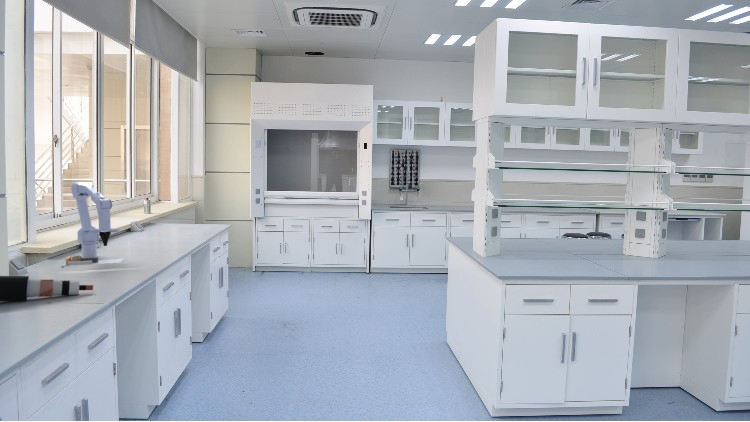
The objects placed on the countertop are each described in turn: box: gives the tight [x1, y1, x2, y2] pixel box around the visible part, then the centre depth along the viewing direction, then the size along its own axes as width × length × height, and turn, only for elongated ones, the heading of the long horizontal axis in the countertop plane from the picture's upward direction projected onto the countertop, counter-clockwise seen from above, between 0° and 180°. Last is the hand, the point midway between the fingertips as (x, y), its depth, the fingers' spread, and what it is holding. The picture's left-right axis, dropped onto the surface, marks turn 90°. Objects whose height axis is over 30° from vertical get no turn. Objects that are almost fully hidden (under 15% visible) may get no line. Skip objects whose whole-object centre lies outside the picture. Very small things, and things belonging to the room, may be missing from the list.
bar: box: [81, 256, 99, 263], centre depth 284 cm, size 2×8×2 cm, turn 108°
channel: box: [61, 255, 123, 268], centre depth 285 cm, size 11×28×4 cm, turn 108°
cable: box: [0, 275, 94, 302], centre depth 217 cm, size 10×34×10 cm, turn 118°
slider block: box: [71, 254, 82, 262], centre depth 282 cm, size 3×4×4 cm
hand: (105, 245), depth 287 cm, fingers closed
